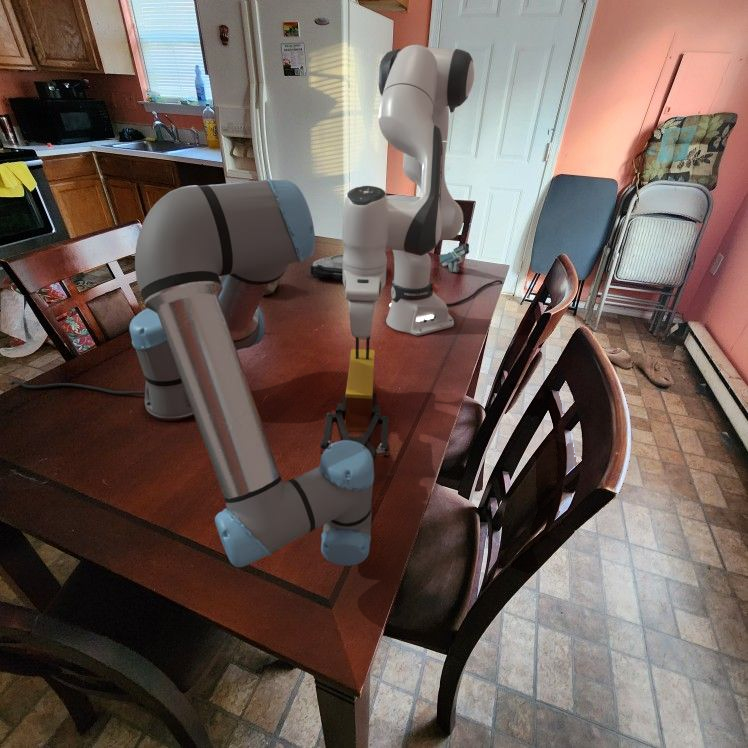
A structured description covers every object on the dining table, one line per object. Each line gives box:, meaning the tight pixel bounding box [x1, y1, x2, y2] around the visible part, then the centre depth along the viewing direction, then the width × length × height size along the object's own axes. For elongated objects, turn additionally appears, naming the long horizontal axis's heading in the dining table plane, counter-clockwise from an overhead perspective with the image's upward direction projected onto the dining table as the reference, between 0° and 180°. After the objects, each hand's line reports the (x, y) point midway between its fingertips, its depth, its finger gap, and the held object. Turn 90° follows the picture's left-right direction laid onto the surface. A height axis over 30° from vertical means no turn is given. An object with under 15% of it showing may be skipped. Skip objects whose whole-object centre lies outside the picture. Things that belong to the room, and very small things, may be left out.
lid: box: [345, 335, 376, 399], centre depth 91 cm, size 16×6×9 cm, turn 178°
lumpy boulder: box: [263, 277, 281, 296], centre depth 151 cm, size 11×11×15 cm
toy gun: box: [439, 243, 470, 273], centre depth 173 cm, size 4×19×10 cm
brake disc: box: [310, 254, 344, 282], centre depth 171 cm, size 32×30×5 cm
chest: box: [345, 375, 375, 432], centre depth 96 cm, size 15×6×9 cm, turn 178°
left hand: (359, 397), depth 93 cm, fingers closed on chest, 6 cm apart
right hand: (363, 334), depth 92 cm, fingers closed on lid, 2 cm apart
